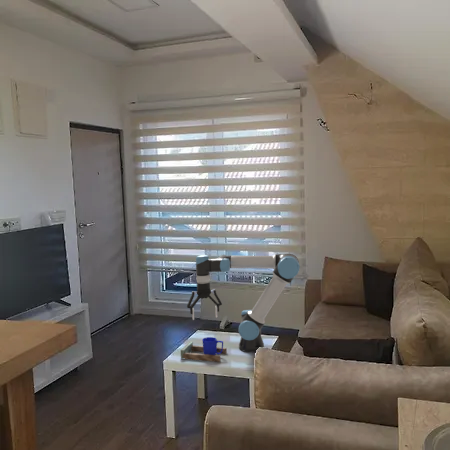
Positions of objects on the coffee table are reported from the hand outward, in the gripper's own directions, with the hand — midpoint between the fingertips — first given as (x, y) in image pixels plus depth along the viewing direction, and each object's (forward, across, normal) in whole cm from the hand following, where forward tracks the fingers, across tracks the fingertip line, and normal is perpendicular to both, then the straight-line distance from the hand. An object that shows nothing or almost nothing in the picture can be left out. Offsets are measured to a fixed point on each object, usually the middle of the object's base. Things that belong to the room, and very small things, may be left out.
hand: (205, 318), depth 274 cm
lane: (+21, +2, +2) cm, 22 cm away
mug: (+22, -3, +4) cm, 22 cm away
